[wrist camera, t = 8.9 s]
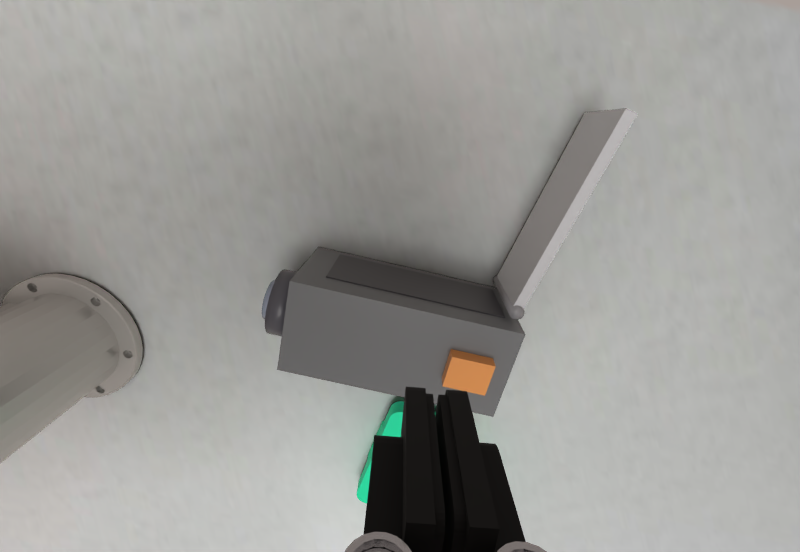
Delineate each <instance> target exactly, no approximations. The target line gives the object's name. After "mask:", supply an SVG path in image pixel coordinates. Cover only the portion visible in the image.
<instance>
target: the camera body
mask: <svg viewBox="0 0 800 552" xmlns="http://www.w3.org/2000/svg"><path fill="white" fill-rule="evenodd" d="M262 317H263V318H264V319H265V330H266V332H267V333H269V334H273V335H278V336H282V339H281V346H280V354H279V361H278V368H277V370H281V371H286V372H290V373H295V374H300V375H304V376H309V377H313V378H318V379H322V380H327V381H332V382H336V383H341V384H345V385H350V386H355V387H359V388H364V389H368V390H373V391H378V392H382V393H387V394H391V395H396V396H400V397H405V388H406V387H419V388H425V389H426V394H433V398H434V404H437V400H438V395H439V394H440V395H445V392H446V390H459V391H467V393H468V397H469V401H470V406H471V410H472V412H474V413H478V414H483V415H488V416H492V417H493V416H494V413H495V411H496V408H497V406H498V403H499V401H500V398H501V395H502V393H503V390H504V388H505V385H506V383H507V380H508V377H509V375H510V372H511V370H512V367H513V365H514V362H515V360H516V357H517V354H518V352H519V349H520V347H521V344H522V342H523V339H524V336H525V333H524V331H523V329H522V327H521V325H520V323H519V322H518V320H515V319H512V318H511V316H510V315H509V313H508V311H507V308H506V306H505V304H504V302H503V300H502V298H501V296H500V294H499V292H498V290H497V288H495V287H490V286H486V285H482V284H477V283H473V282H469V281H464V280H460V279H456V278H451V277H447V276H443V275H438V274H434V273H430V272H425V271H421V270H417V269H412V268H408V267H404V266H399V265H395V264H391V263H386V262H382V261H378V260H374V259H369V258H365V257H361V256H356V255H352V254H348V253H343V252H339V251H335V250H330V249H326V248H322V247H318V248H317V249H316V250H315V252H314V253H313V254H312V255H311V256H310V257H309V259H308V260H307V261H306V262H305V263H304V265H303V266H302V267H301V268H300V269H299V270H298V272H294V271H290V270H285V269H284V270H282V271H281V272H280V273H279V275H278V276H277V278H276V280H273V281H272V282H271V283H270V285H269V286H268V289H267V291H266V294H265V297H264V301H263V306H262Z"/></svg>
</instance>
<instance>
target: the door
mask: <svg viewBox="0 0 800 552" xmlns="http://www.w3.org/2000/svg"><path fill="white" fill-rule="evenodd" d="M637 115H638V113H636V112H633V111H631V110H629V109H627V108H622V109H613V110H604V111H594V112H585V113H584V115H583V117H582V119H581V121H580V123H579V124H578V126H577V128H576V130H575V132H574V134H573V136H572V137H571V139H570V141H569V143H568V145H567V147H566V149H565V150H564V152H563V154H562V156H561V158H560V160H559V162H558V163H557V165H556V167H555V169H554V171H553V173H552V175H551V177H550V178H549V180H548V182H547V184H546V186H545V188H544V190H543V191H542V193H541V195H540V197H539V199H538V201H537V203H536V204H535V206H534V208H533V210H532V212H531V214H530V216H529V218H528V219H527V221H526V223H525V225H524V227H523V229H522V231H521V232H520V234H519V236H518V238H517V240H516V242H515V244H514V245H513V247H512V249H511V251H510V253H509V255H508V257H507V259H506V260H505V262H504V264H503V266H502V268H501V270H500V272H499V273H498V275H496V276H495V277H494V279H493V282H494V284H495V286H496V288H497V290H498V292H499V294H500V296H501V298H502V300H503V302H504V304H505V306H506V308H507V311H508V313H509V315H510V316H511V318H512V319H515V320H518V319H521V318H522V317H523V316H524V309H525V307H526V305H527V304H528V302H529V300H530V299H531V297H532V295H533V293H534V292H535V290H536V288H537V287H538V285H539V283H540V281H541V280H542V278H543V276H544V275H545V273H546V271H547V269H548V268H549V266H550V264H551V263H552V261H553V259H554V257H555V256H556V254H557V252H558V250H559V249H560V247H561V245H562V244H563V242H564V240H565V238H566V237H567V235H568V233H569V232H570V230H571V228H572V226H573V225H574V223H575V221H576V220H577V218H578V216H579V214H580V213H581V211H582V209H583V208H584V206H585V204H586V202H587V201H588V199H589V197H590V196H591V194H592V192H593V190H594V189H595V187H596V185H597V184H598V182H599V180H600V178H601V177H602V175H603V173H604V172H605V170H606V168H607V166H608V165H609V163H610V161H611V160H612V158H613V156H614V154H615V153H616V151H617V149H618V148H619V146H620V144H621V142H622V141H623V139H624V137H625V136H626V134H627V132H628V130H629V129H630V127H631V125H632V124H633V122H634V120H635V118H636V117H637Z"/></svg>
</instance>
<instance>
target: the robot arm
mask: <svg viewBox="0 0 800 552" xmlns="http://www.w3.org/2000/svg"><path fill="white" fill-rule="evenodd" d="M142 354H143V347H142V341H141V336H140V333H139V331H138V328H137V326H136V324H135V322H134V320H133V319H132V317H131V315H130V314H129V313H128V311H127V310H126V309H125V308H124V307H123V305H122V304H121V303H120V302H119V301H118V300H116V299H115V298H114V297H113V296H112V295H111V294H110V293H108V292H107V291H105V290H104V289H102V288H101V287H99V286H97V285H95V284H93V283H91V282H89V281H87V280H85V279H82V278H78V277H75V276H72V275H65V274H43V275H39V276H36V277H32V278H30V279H28V280H25V281H23V282H20V283H19V284H17V285H16V286H14V287H13V288H12V289H10V291H9V292H8V293H7V294H6V296H5V297H4V299H3V302H2V304H1V306H0V463H2V462H3V461H4V460H5V459H7V458H8V457H9V456H10V455H12V454H13V453H14V452H15V451H17V450H18V449H19V448H20V447H22V446H23V445H24V444H26V443H27V442H28V441H29V440H31V439H32V438H33V437H34V436H36V435H37V434H38V433H39V432H41V431H42V430H43V429H44V428H46V427H47V426H48V425H49V424H51V423H52V422H53V421H54V420H56V419H57V418H58V417H59V416H61V415H62V414H63V413H64V412H66V411H67V410H68V409H69V408H71V407H72V406H73V405H74V404H76V403H77V402H78V401H79V400H81V399H82V398H83V397H100V396H105V395H109V394H111V393H113V392H116V391H118V390H119V389H121V388H122V387H123V386H125V385H126V384H127V383H128V382H129V381H130V380H131V379H132V378H133V377H134V376H135V375H136V373H137V371H138V370H139V368H140V365H141V361H142ZM345 552H546V551H545V550H543V549H542V548H540V547H539V546H536V545H533V544H530V543H528V542H525V538H524V535H523V531H522V528H521V525H520V521H519V518H518V514H517V511H516V508H515V504H514V501H513V497H512V494H511V490H510V487H509V484H508V480H507V477H506V473H505V470H504V466H503V463H502V460H501V456H500V453H499V450H498V447H497V446H496V444H490V443H479V439H478V435H477V431H476V427H475V422H474V418H473V414H472V410H471V406H470V401H469V397H468V393H467V391H459V390H446V392H445V395H440V394H439V395H438V400H437V407H436V415H435V408H434V398H433V394H426V389H425V388H419V387H406V388H405V397H404V407H403V418H402V428H401V437H393V436H379V435H374V443H373V452H372V462H371V471H370V480H369V490H368V499H367V509H366V518H365V527H364V535H362V536H360V537H359V538H357V539H355V540H354V541H353V542H352V543H351V544H350V545H349V546H348V548H347V549H346V550H345Z"/></svg>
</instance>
